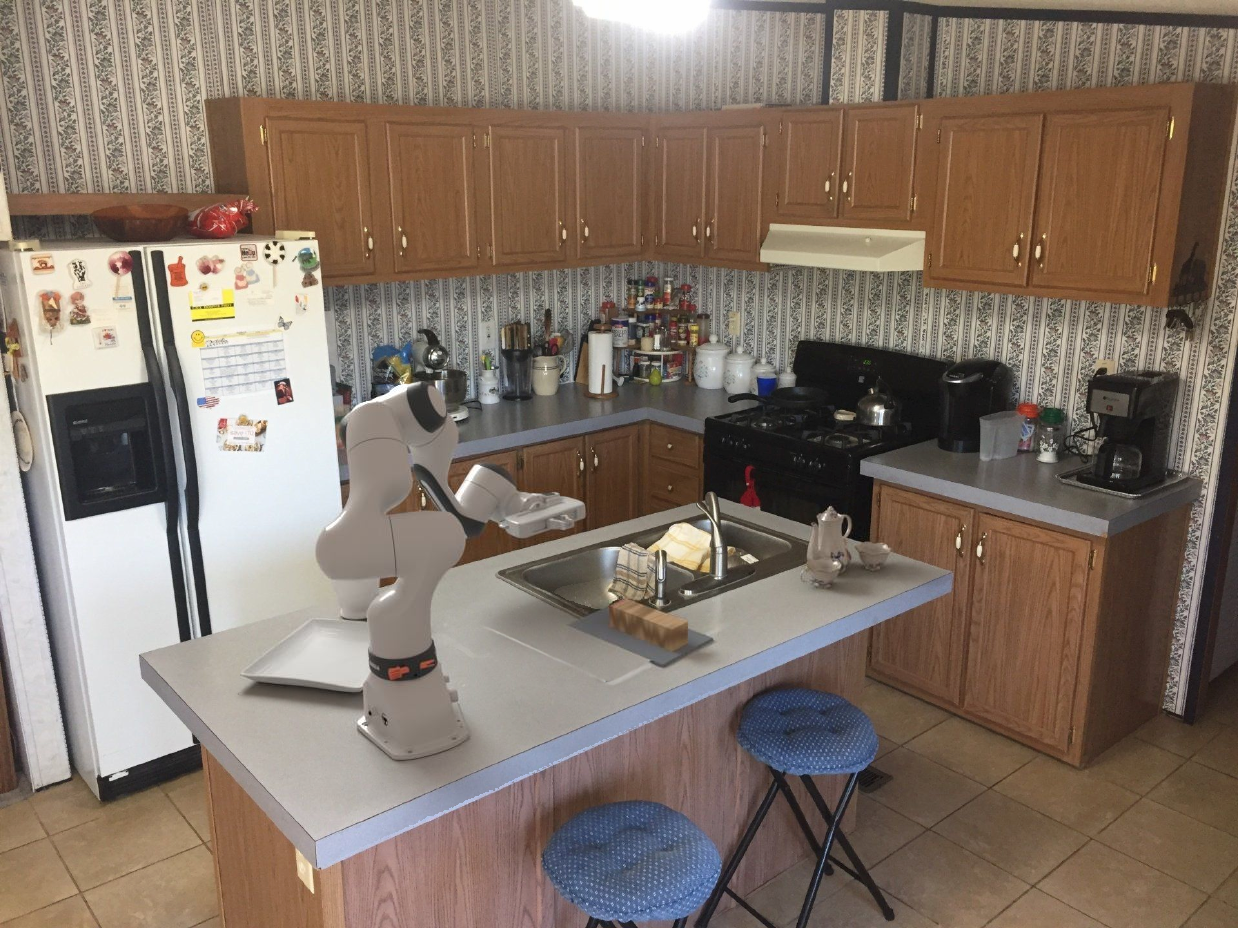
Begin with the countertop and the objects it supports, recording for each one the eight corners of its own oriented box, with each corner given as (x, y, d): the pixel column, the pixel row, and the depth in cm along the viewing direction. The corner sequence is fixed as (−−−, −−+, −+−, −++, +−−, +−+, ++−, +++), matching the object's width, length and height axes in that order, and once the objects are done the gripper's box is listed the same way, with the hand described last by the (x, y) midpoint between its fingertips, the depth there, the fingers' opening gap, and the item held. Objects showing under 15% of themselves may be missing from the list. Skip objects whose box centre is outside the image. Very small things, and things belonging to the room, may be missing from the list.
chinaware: (826, 603, 235) (834, 538, 229) (771, 576, 247) (778, 513, 241) (898, 571, 252) (907, 510, 247) (844, 547, 264) (852, 488, 258)
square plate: (425, 642, 219) (424, 625, 218) (363, 705, 193) (361, 686, 192) (314, 630, 226) (312, 614, 224) (239, 689, 200) (236, 671, 199)
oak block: (609, 605, 220) (671, 629, 208) (625, 598, 223) (687, 621, 211) (609, 626, 221) (672, 651, 209) (625, 619, 225) (687, 643, 213)
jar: (389, 603, 237) (383, 543, 233) (374, 622, 227) (368, 560, 223) (345, 602, 238) (338, 543, 234) (328, 621, 229) (321, 559, 224)
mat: (567, 627, 223) (567, 624, 223) (618, 604, 234) (617, 601, 234) (662, 667, 204) (662, 664, 204) (712, 640, 215) (712, 637, 215)
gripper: (493, 510, 229) (533, 523, 219) (560, 490, 243) (601, 501, 233) (494, 537, 230) (534, 550, 221) (561, 515, 244) (601, 527, 235)
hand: (569, 525), depth 227 cm, fingers closed
